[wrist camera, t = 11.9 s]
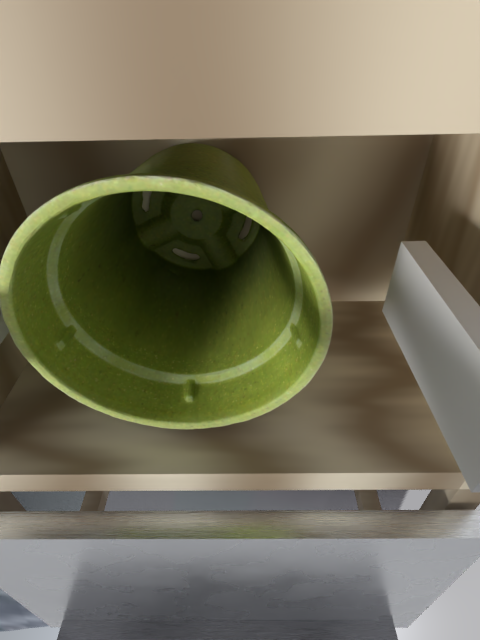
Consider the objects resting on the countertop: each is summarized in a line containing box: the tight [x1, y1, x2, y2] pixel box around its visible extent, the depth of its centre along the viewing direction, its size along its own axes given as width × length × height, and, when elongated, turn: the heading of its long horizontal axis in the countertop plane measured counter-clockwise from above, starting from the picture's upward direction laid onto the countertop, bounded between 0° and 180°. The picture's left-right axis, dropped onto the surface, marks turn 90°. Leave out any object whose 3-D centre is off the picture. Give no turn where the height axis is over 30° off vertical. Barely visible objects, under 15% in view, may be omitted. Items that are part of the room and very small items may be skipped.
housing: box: [0, 0, 480, 512], centre depth 17 cm, size 20×28×13 cm
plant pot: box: [0, 143, 333, 429], centre depth 14 cm, size 9×9×9 cm
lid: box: [0, 510, 480, 640], centre depth 17 cm, size 20×12×4 cm, turn 91°
